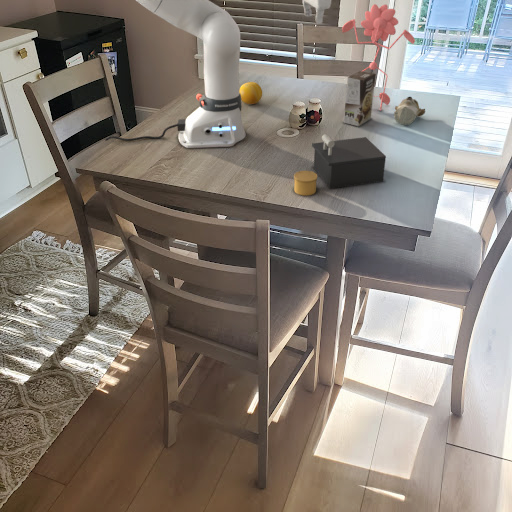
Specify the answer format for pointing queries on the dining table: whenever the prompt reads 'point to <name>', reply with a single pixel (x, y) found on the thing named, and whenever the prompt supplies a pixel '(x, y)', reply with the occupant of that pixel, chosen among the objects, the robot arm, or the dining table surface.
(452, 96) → the dining table surface
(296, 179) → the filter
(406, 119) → the ceramic sculpture
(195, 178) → the dining table surface
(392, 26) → the figurine
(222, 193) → the dining table surface
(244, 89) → the fruit
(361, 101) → the coffee box
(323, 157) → the lid
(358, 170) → the black lidded box
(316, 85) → the dining table surface
